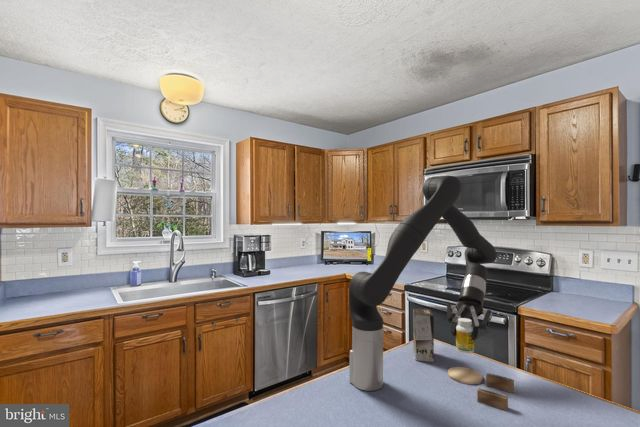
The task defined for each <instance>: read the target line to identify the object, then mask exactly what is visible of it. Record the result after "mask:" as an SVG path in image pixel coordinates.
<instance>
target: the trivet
mask: <svg viewBox="0 0 640 427" xmlns="http://www.w3.org/2000/svg"><path fill="white" fill-rule="evenodd" d="M447 375H448V377H449V378H450V379H452V380H453V381H455V382H457V383H461V384H464V385H478V384H481V383H482V382H483V375H482V374H481V373H480V372H479V371H477V370H475V369H472V368H470V367H469V368H468V367H463V366H453V367H451V368H450V367H449V369H448V370H447Z"/></svg>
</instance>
